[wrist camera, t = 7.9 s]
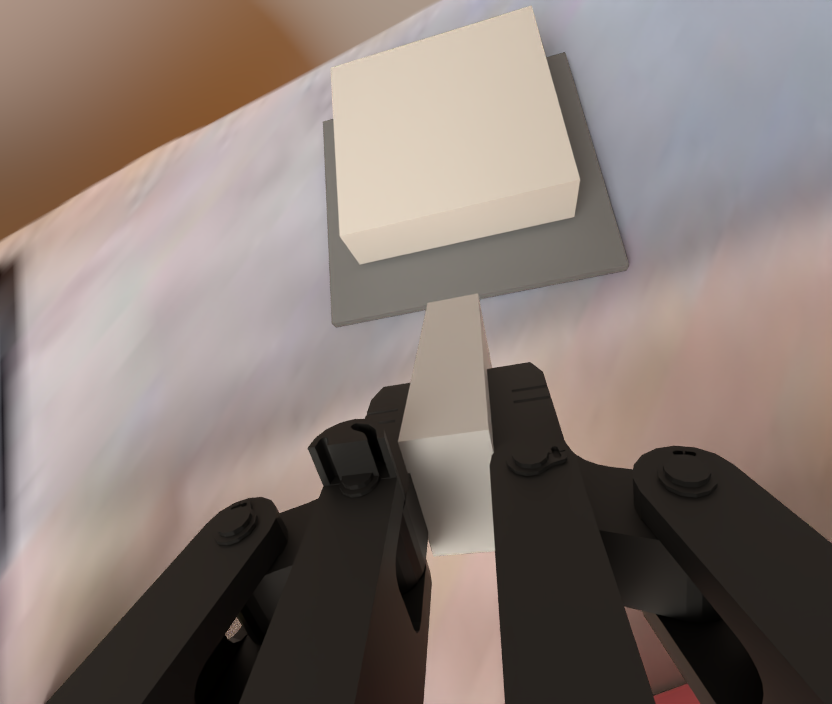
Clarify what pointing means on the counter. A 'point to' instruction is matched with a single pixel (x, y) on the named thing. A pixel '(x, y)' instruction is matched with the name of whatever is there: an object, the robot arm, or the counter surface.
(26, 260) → the counter surface
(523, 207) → the tile
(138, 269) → the counter surface
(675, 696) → the puzzle cube
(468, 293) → the mat
